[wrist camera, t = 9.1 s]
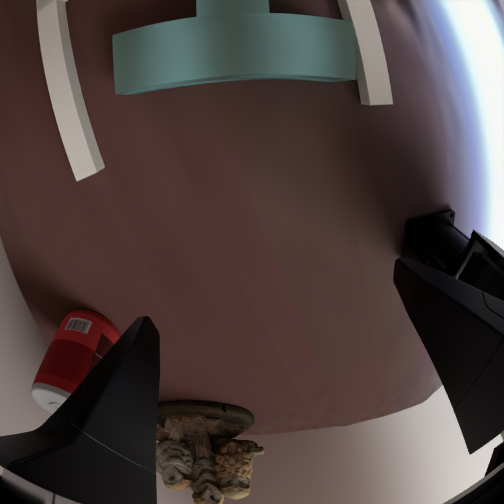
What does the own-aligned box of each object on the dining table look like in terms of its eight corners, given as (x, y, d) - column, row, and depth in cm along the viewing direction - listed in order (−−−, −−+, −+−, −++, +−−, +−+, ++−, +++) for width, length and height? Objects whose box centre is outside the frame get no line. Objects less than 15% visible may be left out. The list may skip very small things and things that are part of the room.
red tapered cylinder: (55, 322, 26) (21, 394, 17) (85, 296, 24) (45, 381, 15) (99, 358, 30) (78, 430, 20) (136, 340, 28) (116, 426, 19)
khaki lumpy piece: (264, 400, 37) (279, 504, 22) (255, 427, 43) (265, 509, 29) (144, 395, 35) (133, 499, 20) (157, 424, 41) (152, 506, 26)
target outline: (328, -74, 8) (334, -82, 7) (382, 102, 17) (392, 104, 16) (45, -1, 9) (36, -4, 8) (85, 175, 18) (76, 181, 17)
